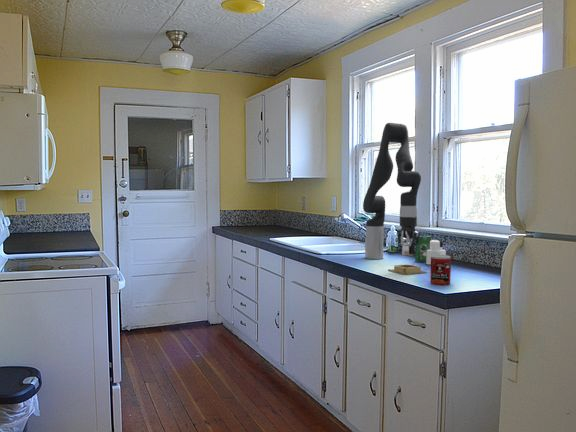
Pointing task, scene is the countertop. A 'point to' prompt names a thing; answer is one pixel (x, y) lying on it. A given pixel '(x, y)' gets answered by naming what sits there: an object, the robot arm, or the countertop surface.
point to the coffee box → (422, 248)
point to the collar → (407, 269)
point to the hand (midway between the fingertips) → (407, 253)
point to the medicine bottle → (434, 250)
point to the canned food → (440, 269)
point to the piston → (405, 249)
